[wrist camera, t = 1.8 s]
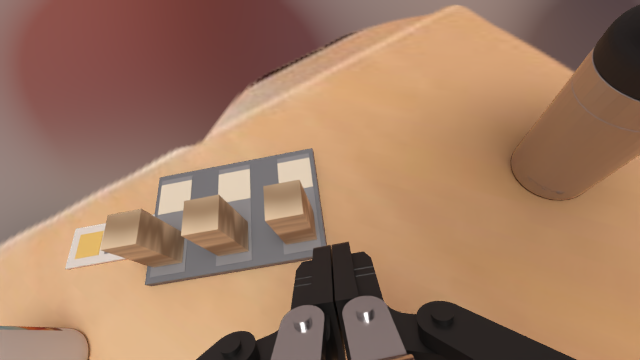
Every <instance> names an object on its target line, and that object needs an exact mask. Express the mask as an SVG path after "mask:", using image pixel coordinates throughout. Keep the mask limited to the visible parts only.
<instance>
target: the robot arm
mask: <svg viewBox="0 0 640 360" xmlns="http://www.w3.org/2000/svg"><path fill="white" fill-rule="evenodd" d="M639 155H640V5H638V6H636V7H633V8H631V9H630V10H628V11H626V12H625V13H623V14H622V15H621V16H620V17H618V18H617V19H616V20H615V21H614V22H613V23H612V24H611V26H610V27H609V28H608V29H607V30H606V32H605V33H604V35H603V36H602V37H601V38H600V40H599V41H598V42H597V44H596V46H595V47H594V48H593V49H592V51H591V52H590V53H589V54H588V56H587V57H586V58H585V60H584V61H583V62H582V63H581V65H580V66H579V67H578V69H577V70H576V71H575V73H574V74H573V75H572V77H571V78H570V79H569V81H568V82H567V83H566V85H565V86H564V87H563V88H562V90H561V91H560V92H559V94H558V95H557V96H556V97H555V99H554V100H553V101H552V103H551V104H550V105H549V107H548V108H547V109H546V110H545V112H544V113H543V114H542V116H541V117H540V118H539V119H538V121H537V122H536V123H535V125H534V126H533V127H532V129H531V130H530V131H529V132H528V134H527V135H526V136H525V137H524V139H523V140H522V141H521V143H520V144H519V145H518V147H517V148H516V149H515V151H514V152H513V154H512V158H511V167H512V171H513V173H514V175H515V177H516V179H517V180H518V181H519V182H520V183H521V185H523V186H524V187H525V188H526V189H528V190H529V191H531V192H532V193H534V194H536V195H539V196H541V197H544V198H548V199H552V200H567V199H572V198H575V197H578V196H579V195H581V194H582V193H584V192H585V191H587V190H588V189H590V188H591V187H593V186H594V185H596V184H597V183H599V182H600V181H602V180H603V179H605V178H606V177H608V176H609V175H611V174H612V173H614V172H615V171H617V170H618V169H619V168H621V167H622V166H624V165H625V164H627V163H628V162H630V161H631V160H633V159H634V158H636V157H637V156H639ZM344 345H345V347H344ZM345 349H346V354H347V359H348V360H576V359H574V358H572V357H569V356H567V355H565V354H563V353H561V352H558V351H556V350H554V349H552V348H550V347H548V346H545V345H543V344H541V343H539V342H537V341H534V340H532V339H530V338H528V337H526V336H523V335H521V334H519V333H517V332H515V331H513V330H510V329H508V328H506V327H504V326H502V325H499V324H497V323H495V322H493V321H491V320H488V319H486V318H484V317H482V316H480V315H477V314H475V313H473V312H471V311H469V310H467V309H464V308H462V307H460V306H458V305H456V304H453V303H450V302H445V301H434V302H429V303H427V304H425V305H423V306H422V307H420V309H419V310H418V312H417V315H416V314H406V313H401V312H397V311H395V310H393V309H391V308H390V307H388V306H387V305H386V303H385V302H384V300H383V298H382V294H381V291H380V287H379V284H378V280H377V277H376V274H375V270H374V267H373V263H372V260H371V257H370V256H368V255H367V254H366V253H365V252H358V253H352V254H351V251H350V246H349V242H345V243H339V244H333V245H332V249H331V245H328V246H322V247H316V248H313V258H312V260H311V261H305V262H302V263H301V265H300V266H299V267H298V269H297V270H296V276H295V283H294V291H293V298H292V305H291V311H289V312H288V313H287V314H286V315H285V316H284V317H283V319H282V321H281V324H280V327H279V330H278V331H276V332H275V333H273V334H271V335H269V336H266V337H264V338H261V339H259V340H257V341H256V340H255V338H254V336H253V335H252V334H251V333H249V332H246V331H238V332H233V333H231V334H228V335H226V336H225V337H223V338H221V339H220V340H219V341H218V342H216V343H215V344H214V345H213V346H212V347H210V348H209V349H208V350H207V351H206V352H205V353H203V354H202V355H201V356H200V357H199V358H197V359H196V360H346V358H345Z"/></svg>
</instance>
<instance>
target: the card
mask: <svg viewBox="0 0 640 360" xmlns="http://www.w3.org/2000/svg"><path fill="white" fill-rule="evenodd" d="M153 216H155V214H154V215H153ZM105 226H106V223H105V224H99V225H94V226H88V227H83V228H78V229H76V230H75V234H74V238H73V241H72V245H71V249H70V253H69V256H68V260H67V264H66V268H65V269H67V270H68V269H74V268H79V267H85V266H91V265H96V264H102V263H108V262H114V261H119V260H125V259H126V258H123V257H120V256H117V255H113V254H110V253H107V252H104V251H101V250H100V249H101V244H102V239H103V235H104V230H105Z"/></svg>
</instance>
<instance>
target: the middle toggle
mask: <svg viewBox="0 0 640 360" xmlns="http://www.w3.org/2000/svg"><path fill="white" fill-rule="evenodd" d="M181 236H182V237H184V238H186V239H188V240H190V241H191V242H193V243H195V244H197V245H199V246H201V247H202V248H204V249H206V250H208V251H210V252H212V253H214V254H215V255H217V256H224V255H230V254H235V253H241V252H247V251H248V222H247V221H246V220H245V219H244V218H243V217H242V216H241V215H240V214H239V213H238V212H237V211H236V210H235V209H234V208H233V207H232V206H230V205H229V204H228V203H227V202H226V201H225V200H224V199H223V198H222V197H221V196H220V195H214V196H208V197H203V198H198V199H192V200H187V201H184V208H183V219H182V230H181Z"/></svg>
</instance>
